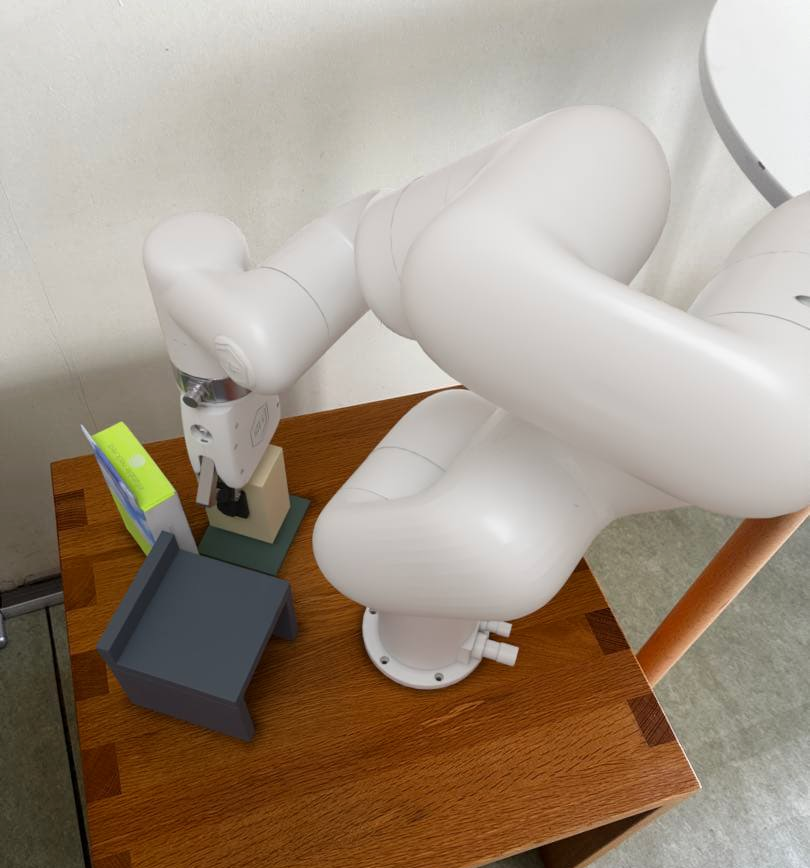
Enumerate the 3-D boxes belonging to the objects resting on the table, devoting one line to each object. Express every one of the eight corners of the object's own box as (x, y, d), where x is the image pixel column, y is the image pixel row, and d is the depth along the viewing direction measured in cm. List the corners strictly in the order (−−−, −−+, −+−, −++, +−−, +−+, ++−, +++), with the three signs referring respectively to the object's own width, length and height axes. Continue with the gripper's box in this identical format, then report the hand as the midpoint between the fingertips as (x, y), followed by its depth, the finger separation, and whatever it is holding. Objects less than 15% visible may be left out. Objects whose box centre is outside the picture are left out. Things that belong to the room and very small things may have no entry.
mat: (310, 502, 91) (310, 500, 91) (275, 577, 86) (275, 575, 86) (234, 480, 93) (234, 478, 92) (195, 553, 87) (195, 551, 87)
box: (209, 577, 86) (176, 477, 71) (174, 599, 84) (132, 501, 70) (157, 510, 90) (116, 402, 75) (123, 529, 89) (74, 423, 74)
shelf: (298, 631, 83) (288, 567, 72) (250, 742, 77) (231, 690, 66) (188, 597, 85) (162, 530, 74) (132, 703, 78) (95, 647, 68)
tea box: (229, 488, 89) (215, 428, 81) (290, 506, 88) (282, 447, 80) (209, 525, 87) (193, 467, 78) (272, 544, 86) (262, 487, 77)
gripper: (217, 450, 63) (246, 570, 79) (299, 304, 72) (311, 437, 88) (127, 425, 64) (173, 548, 80) (219, 284, 73) (245, 419, 89)
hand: (245, 489), depth 84 cm, fingers closed on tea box, 5 cm apart
